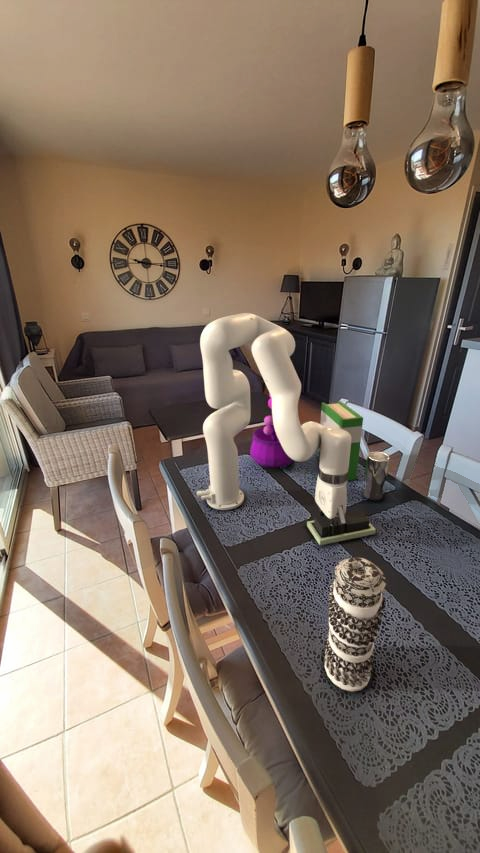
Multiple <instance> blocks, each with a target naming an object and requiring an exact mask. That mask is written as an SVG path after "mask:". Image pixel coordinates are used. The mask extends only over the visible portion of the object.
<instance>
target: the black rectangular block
mask: <svg viewBox="0 0 480 853" xmlns="http://www.w3.org/2000/svg"><path fill="white" fill-rule="evenodd" d="M313 521H314V528H315V529H316V531H317V532H318V533H319V535H320V536H321V538H324V537H329V536H328V529H329V524H330V519H329V518H328V517H327V516H326V515H324V516H315V517H314V520H313ZM334 521H337V517H335V518H334ZM344 530H345V524H343V525H340V532H339V534H343V533H344Z"/></svg>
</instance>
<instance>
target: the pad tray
mask: <svg viewBox="0 0 480 853" xmlns="http://www.w3.org/2000/svg"><path fill="white" fill-rule="evenodd" d="M306 527H307V528H308V530H309V531H310V533H311V535H312V536H313V537H314V539H315V540H316V542H317V543H318V546H323V545H328V544H334V543H338V542H343V541H347V540H351V539H352V540H353V539H357V538H362V537H366V536H372V535H376V530H377V529H376V528H375V527H374V526H373V525H372V524H371V522H369V528H368V529H366V530H361V531H356V532H351V533H345V532H344V533H343V534H339V535H336V536H331V537H324V538H321V536H320V535H319V533H318V532H317V531H316V529H315V528H314V520H309V521H306Z"/></svg>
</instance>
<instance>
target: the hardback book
mask: <svg viewBox="0 0 480 853" xmlns="http://www.w3.org/2000/svg"><path fill="white" fill-rule="evenodd" d="M320 410H321V411H320V423H319V424H322V425H324V426H327V427H329V428H332V429H333V428H336V429H343V430H345V431H347V432H348V433H349V434H350V435H351V449H350V459H349V469H348V479H347V481H353V480H357V475H358V467H359V458H360V450H361V440H362V432H363V424H364V417H363V416H361V415H360V414H359V413H358V412H356V411H355V410H353V409H352V408H350V407H349V406H348V405H347V404H345V403H344V402H342V401H341V400H337V403H329V404H328V403H325V402H321V408H320ZM317 456H318V457H317V459H318V460H319V461H320V451H319V450H318V455H317Z"/></svg>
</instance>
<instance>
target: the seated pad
mask: <svg viewBox="0 0 480 853" xmlns="http://www.w3.org/2000/svg"><path fill="white" fill-rule="evenodd" d="M344 518H345V522H346V524H345V530H344V532H345V533H351V532H356V531H361V530H366V529H368V528H369V523H370V519H369V518H368V517H367V516H366V515H365V514H364V513H363V512H362V511H361V510H354V511H350V512H346V513H345V516H344Z"/></svg>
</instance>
